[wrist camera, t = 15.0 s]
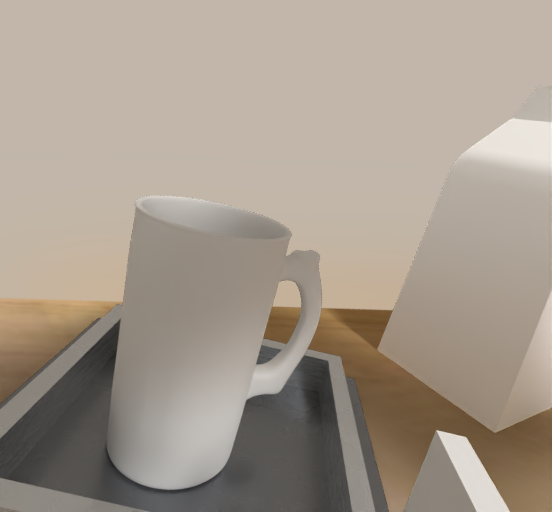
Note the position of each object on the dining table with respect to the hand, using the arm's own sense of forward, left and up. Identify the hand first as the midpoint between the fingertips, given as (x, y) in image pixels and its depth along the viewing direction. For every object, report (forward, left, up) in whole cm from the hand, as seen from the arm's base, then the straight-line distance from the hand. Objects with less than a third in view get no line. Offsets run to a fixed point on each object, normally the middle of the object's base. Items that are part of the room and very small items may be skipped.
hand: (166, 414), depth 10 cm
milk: (-22, -27, -10) cm, 36 cm away
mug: (0, -10, -9) cm, 13 cm away
